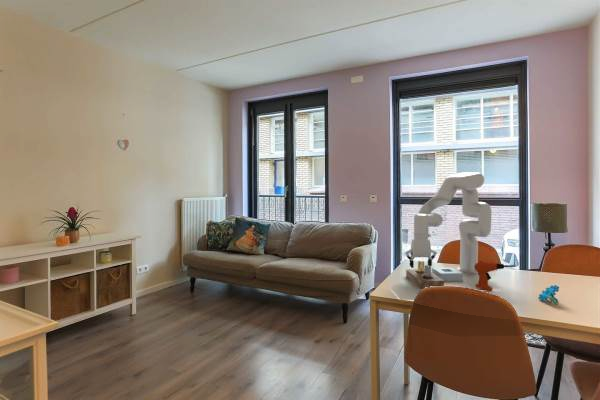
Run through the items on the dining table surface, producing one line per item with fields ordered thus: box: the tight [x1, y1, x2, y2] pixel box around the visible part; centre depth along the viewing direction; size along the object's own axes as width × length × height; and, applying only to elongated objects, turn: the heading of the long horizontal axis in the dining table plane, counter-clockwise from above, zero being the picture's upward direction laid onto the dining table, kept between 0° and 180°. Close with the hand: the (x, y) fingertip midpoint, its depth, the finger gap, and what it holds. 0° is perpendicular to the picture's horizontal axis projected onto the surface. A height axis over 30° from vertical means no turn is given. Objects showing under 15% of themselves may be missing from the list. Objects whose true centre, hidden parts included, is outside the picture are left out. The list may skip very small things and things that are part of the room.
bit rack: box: [405, 268, 445, 290], centre depth 185 cm, size 12×22×5 cm, turn 1°
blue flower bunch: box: [537, 284, 560, 306], centre depth 157 cm, size 11×6×10 cm
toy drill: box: [474, 260, 516, 292], centre depth 173 cm, size 5×19×15 cm, turn 64°
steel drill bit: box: [424, 264, 432, 279], centre depth 179 cm, size 3×3×10 cm
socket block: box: [431, 266, 464, 282], centre depth 193 cm, size 12×12×5 cm
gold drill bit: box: [417, 260, 425, 274], centre depth 189 cm, size 3×3×10 cm
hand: (420, 267), depth 189 cm, fingers open, 9 cm apart
